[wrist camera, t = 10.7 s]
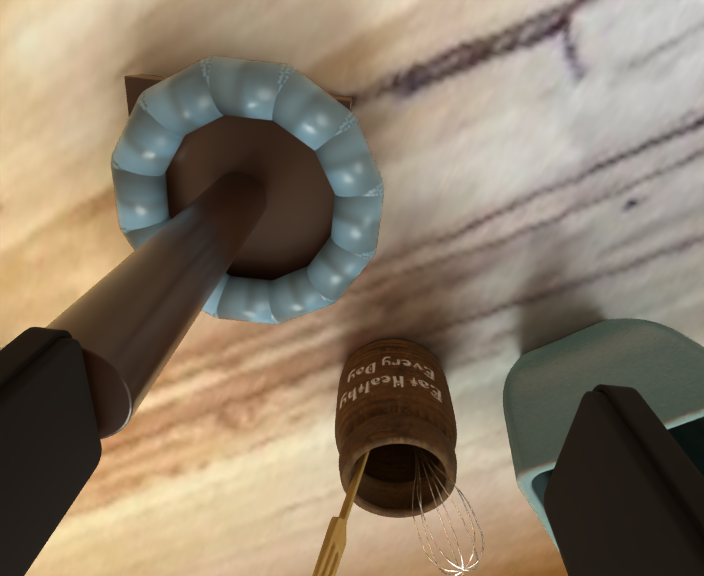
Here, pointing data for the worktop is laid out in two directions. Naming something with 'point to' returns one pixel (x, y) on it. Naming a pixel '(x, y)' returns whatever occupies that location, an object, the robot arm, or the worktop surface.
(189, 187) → the peg stand
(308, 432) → the worktop surface
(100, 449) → the robot arm
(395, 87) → the worktop surface
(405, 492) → the utensil holder
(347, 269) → the ring
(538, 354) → the flower pot
